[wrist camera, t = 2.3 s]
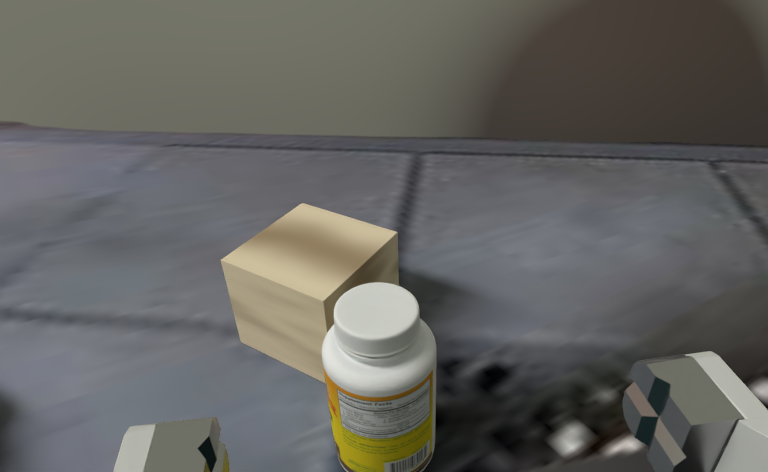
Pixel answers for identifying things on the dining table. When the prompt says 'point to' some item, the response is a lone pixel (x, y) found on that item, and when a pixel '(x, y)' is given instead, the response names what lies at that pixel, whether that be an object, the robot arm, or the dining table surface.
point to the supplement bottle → (381, 380)
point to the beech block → (303, 280)
